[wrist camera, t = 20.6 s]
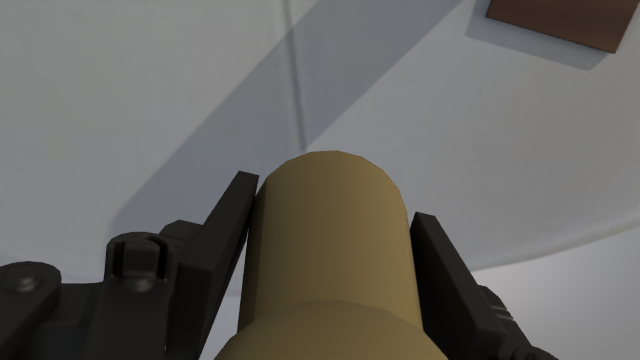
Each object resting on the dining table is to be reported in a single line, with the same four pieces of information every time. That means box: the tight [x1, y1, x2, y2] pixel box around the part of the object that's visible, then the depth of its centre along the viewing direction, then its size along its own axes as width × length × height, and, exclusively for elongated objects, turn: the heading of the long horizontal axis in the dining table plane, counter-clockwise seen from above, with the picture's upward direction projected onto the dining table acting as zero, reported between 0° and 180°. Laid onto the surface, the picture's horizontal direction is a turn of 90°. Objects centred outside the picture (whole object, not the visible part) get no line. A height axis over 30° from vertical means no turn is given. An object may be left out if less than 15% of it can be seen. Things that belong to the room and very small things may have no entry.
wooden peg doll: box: [214, 151, 448, 360], centre depth 11 cm, size 6×6×11 cm
